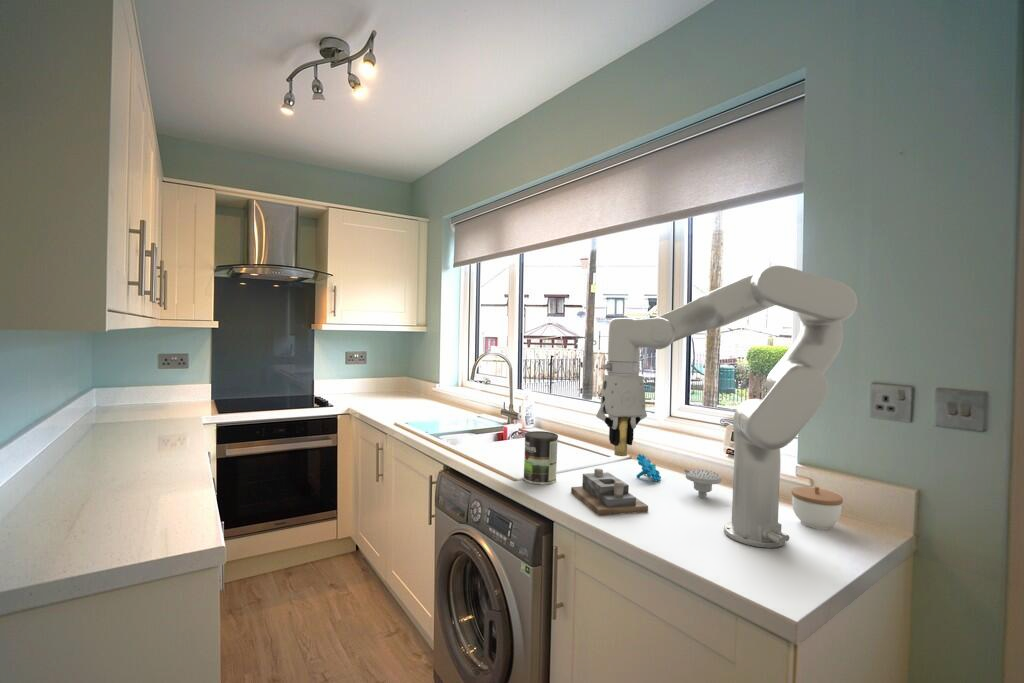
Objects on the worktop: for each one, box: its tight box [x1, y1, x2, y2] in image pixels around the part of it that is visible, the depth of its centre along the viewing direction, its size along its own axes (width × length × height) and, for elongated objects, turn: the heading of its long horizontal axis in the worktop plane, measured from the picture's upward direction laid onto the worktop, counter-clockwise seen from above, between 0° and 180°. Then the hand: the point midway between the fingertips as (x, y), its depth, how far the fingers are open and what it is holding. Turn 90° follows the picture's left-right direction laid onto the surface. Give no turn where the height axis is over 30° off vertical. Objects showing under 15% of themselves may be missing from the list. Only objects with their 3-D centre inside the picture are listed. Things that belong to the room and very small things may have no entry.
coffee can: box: [523, 430, 559, 486], centre depth 151 cm, size 10×10×14 cm
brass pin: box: [613, 417, 628, 457], centre depth 119 cm, size 3×3×10 cm
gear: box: [636, 453, 662, 483], centre depth 156 cm, size 11×6×10 cm
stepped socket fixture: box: [570, 468, 649, 516], centre depth 133 cm, size 18×14×7 cm
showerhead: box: [683, 468, 722, 498], centre depth 140 cm, size 9×7×10 cm
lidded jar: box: [791, 486, 844, 530], centre depth 121 cm, size 11×11×9 cm
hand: (621, 443), depth 119 cm, fingers closed on brass pin, 3 cm apart
